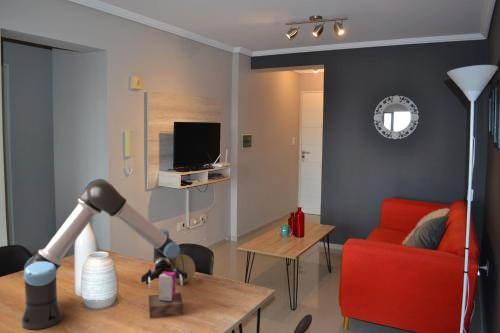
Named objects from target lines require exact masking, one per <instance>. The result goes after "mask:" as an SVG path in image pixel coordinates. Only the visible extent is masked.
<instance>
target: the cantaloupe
mask: <svg viewBox="0 0 500 333" xmlns="http://www.w3.org/2000/svg"><path fill="white" fill-rule="evenodd" d="M169 261H170V265H171V268H172V269H173V270H174V269H176V267H178V268H179V269H180V270H182V271H184V272H186V273H187V279H185V278H184V281H183V284H185V283H188V282H190V281H191V280H192V279H193V277H194V276H195V274H196V266H195V261H194V260H193V259H192V257H191V256H189V255H186V254H181V253H180V252H179V254H178V256H177V257H175V258H173V259H170V258H169ZM176 284H178V285H181V284H180V280H179V279H178V278H176Z"/></svg>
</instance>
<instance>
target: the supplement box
mask: <svg viewBox="0 0 500 333" xmlns="http://www.w3.org/2000/svg"><path fill="white" fill-rule="evenodd" d="M176 284H177V283H176V273H175V272H165V271H164V272H163V273H162V274H161V275H160V276H159V278H158V288H159V289H158V295H159V301H164V302H171V301H172V300H173V299H174V298H175V293H176Z"/></svg>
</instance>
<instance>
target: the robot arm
mask: <svg viewBox="0 0 500 333" xmlns="http://www.w3.org/2000/svg"><path fill="white" fill-rule="evenodd" d="M127 200H128V199H126V198H125V197H124V196H123V195H122V194H121V193H120V192H119V191H118V190H117V189H116V187H114V185H112V184H111V183H110V182H109V181H108V180H106V179H102V178H95V179H92V180H90V181H88V182H87V184H86V185H85V187H84V190H83V191H82V193H80V196H79V197H78V198H77V201H78V204H76V207H75V208H74V209H73V211H72V212H71V213H70V215H69V216H68V217H67V218H66V220H65V221H64V222H63V224H62V225H61V226H60V228H59V229H58V230H57V231H56V233H55V234H54V235H53V236H52V238H51V239H50V241H48V243H47V244H46V246H45V247H44V248H42V249H38V251H37V252H36V253H35V254H34V255H33V256H32V257H30V258H29V259H28V260H27V261H26V263H25V264H24V268H23V279H24V295H25V297H24V298H25V299H24V300H25V307H24V310H23V313H22V317H21V326H22V328H24V329H27V330H41V329H46V328H50V327H52V326H55V325H57V324H59V322H61V321H62V320H63V311H62V308H61V306H60V304H59V301H58V289H57V288H58V287H57V273H58V272H57V271H58V270H59V269H60V268H61V266H62V265H63V261H62V260H63V258H64V256H65V255H66V254H67V253H68V251H69V250H70V249H71V247H72V246H73V244H74V243H75V242H76V240H77V239H78V238H79V236H80V235H81V233H82V232H83V231H84V230H85V228H86V227H87V226H88V225H89V223H90V222H91V220H92V219H93V218H94V216H95V215H96V214H101V213H102V211H103V212H105V213H106V214H108V216H110V217H113V218H114V217H115V218H116V219H118V220H119V221H120V222H122V223H123V224H124V225H126V226H127V227H128V228H129V229H130V230H132V231H133V232H135V233H136V234H137V235H138V236H140V237H141V238H142V239H143V240H145V241H146V242H147V243H148V244H150V245H151V246H153V263H154V264H153V266H154V270H152V269H148V271H147V272H145V274H143V275H142V276H141V280H140V281H141V283H143V284H144V283H145V285H148V289H150V290H151V288H152V284H151V282H152V281H155V280H156V279H158V280H159V276H160V275H161V274H162V273H163V272H164V271H165V272H175V273H176V278H178V279H179V280H180V284H179V285H180V286H183V285H184V283H183V281H184V278H185V279H187V273H186V272H184V271H182V270H180V269H179V268H178V267H176V269H174V270H173V269H172V268H171V265H170V261H169V260H170V259H173V258H175V257H177V256H178V254H179V253H180V251H181V248H180V246H179V245H178V243H177V242H176V241H174V240H173V239H171V238H170V231H169V230H168V229H165V228H164V229H163V228H158V227H157V226H156V225H154V224H153V223H152V222H151V221H149V220H148V219H147V218H146V217H145V216H143V214H141V213H139V211H137V210H136V209H135V208H134V207H132V206H131V205H130V204H129V203H128V202H127Z"/></svg>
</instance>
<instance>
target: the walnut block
mask: <svg viewBox="0 0 500 333" xmlns="http://www.w3.org/2000/svg"><path fill="white" fill-rule="evenodd" d="M148 310H149V311H148V313H149V319H157V318H165V317H175V316H182V315H184V302H183V298H182V294H181V292H175V298H174V299H173V300H172V301H171V302H164V301H159V294H151V295H148Z"/></svg>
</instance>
